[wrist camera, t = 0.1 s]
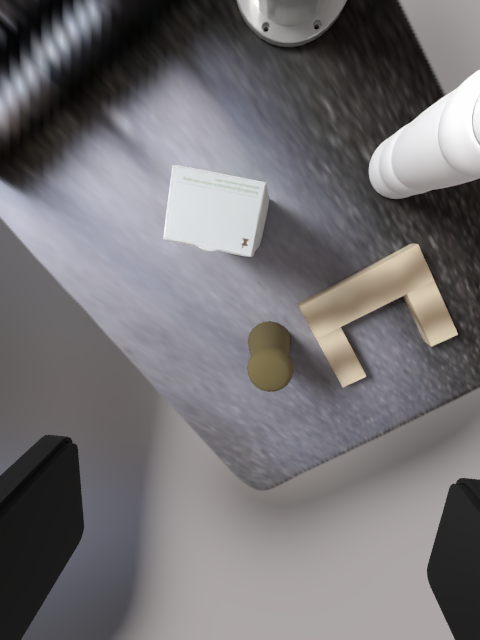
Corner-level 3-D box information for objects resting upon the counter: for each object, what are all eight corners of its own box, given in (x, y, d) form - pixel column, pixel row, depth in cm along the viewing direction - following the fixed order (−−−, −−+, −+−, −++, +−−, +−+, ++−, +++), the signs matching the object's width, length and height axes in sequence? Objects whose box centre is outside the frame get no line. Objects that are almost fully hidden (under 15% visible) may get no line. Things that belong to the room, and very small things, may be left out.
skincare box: (270, 198, 41) (273, 179, 26) (259, 250, 43) (255, 261, 28) (205, 185, 41) (171, 159, 26) (197, 237, 43) (160, 241, 28)
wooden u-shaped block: (297, 303, 44) (298, 307, 42) (411, 243, 41) (418, 244, 39) (339, 381, 47) (342, 387, 45) (449, 329, 44) (458, 334, 42)
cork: (297, 330, 45) (307, 361, 35) (281, 367, 47) (285, 407, 36) (257, 315, 45) (254, 341, 35) (241, 353, 47) (234, 388, 36)
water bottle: (441, 164, 39) (728, 55, 15) (395, 212, 40) (584, 184, 16) (399, 121, 38) (631, -68, 14) (354, 172, 40) (491, 82, 16)
